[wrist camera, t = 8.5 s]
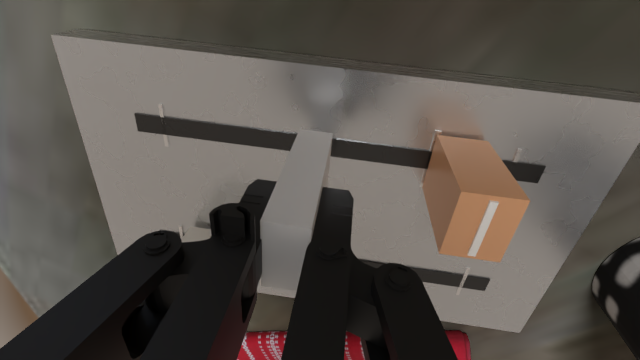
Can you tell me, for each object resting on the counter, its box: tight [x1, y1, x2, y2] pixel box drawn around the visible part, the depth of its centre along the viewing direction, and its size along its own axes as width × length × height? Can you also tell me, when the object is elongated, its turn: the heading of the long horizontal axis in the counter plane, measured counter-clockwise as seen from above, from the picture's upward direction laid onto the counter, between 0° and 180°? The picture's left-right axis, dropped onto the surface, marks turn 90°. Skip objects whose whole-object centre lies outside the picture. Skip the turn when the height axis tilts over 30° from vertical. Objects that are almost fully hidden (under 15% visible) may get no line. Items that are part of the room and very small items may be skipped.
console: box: [51, 29, 640, 333], centre depth 21 cm, size 16×28×2 cm, turn 85°
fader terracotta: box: [422, 135, 530, 262], centre depth 15 cm, size 3×2×5 cm
